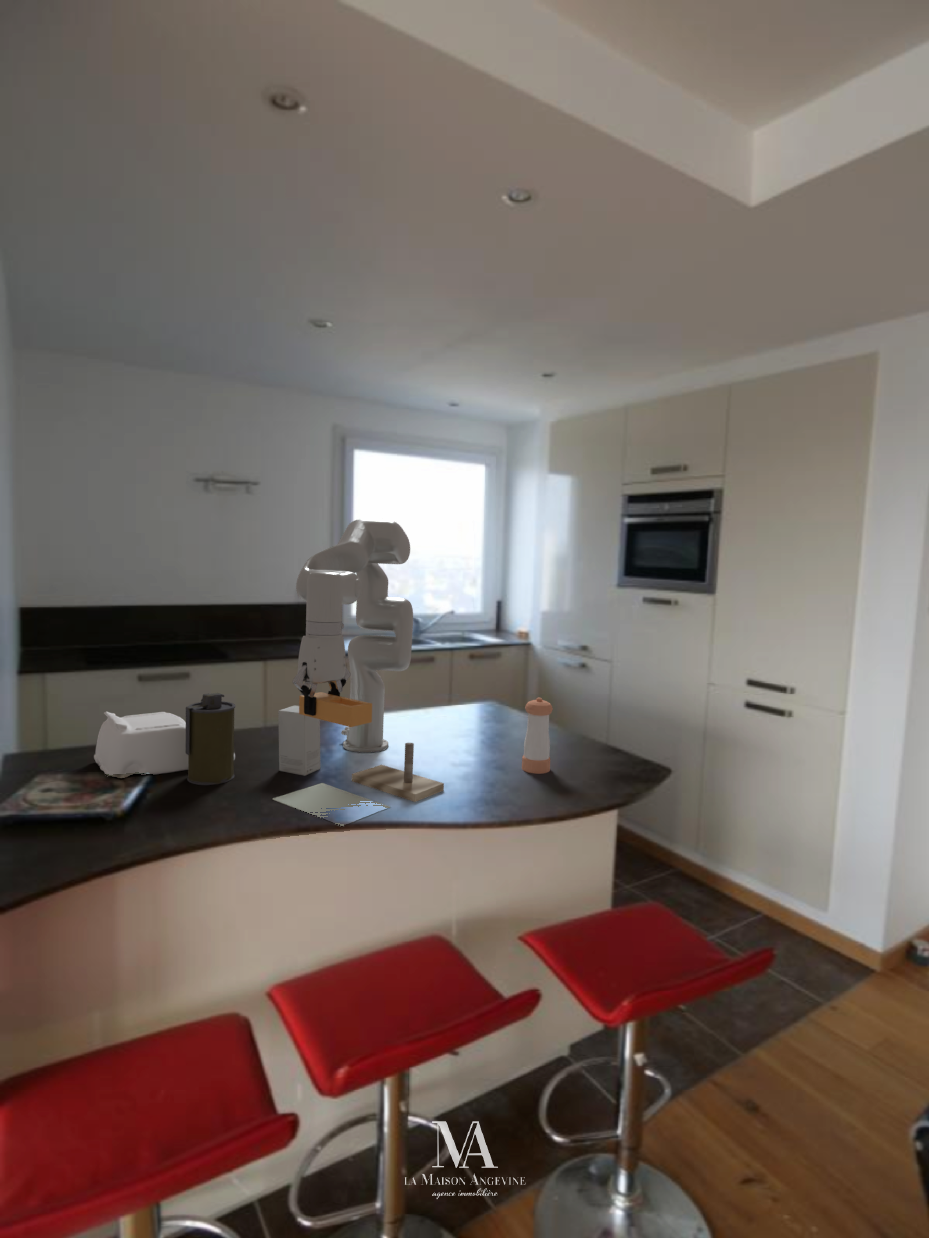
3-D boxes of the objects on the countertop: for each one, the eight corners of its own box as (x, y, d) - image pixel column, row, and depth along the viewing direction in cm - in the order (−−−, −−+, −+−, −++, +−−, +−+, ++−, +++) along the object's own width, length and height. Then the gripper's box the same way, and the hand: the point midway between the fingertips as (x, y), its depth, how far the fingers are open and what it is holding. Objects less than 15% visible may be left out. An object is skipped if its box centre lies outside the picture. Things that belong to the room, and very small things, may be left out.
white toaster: (90, 763, 165) (90, 710, 164) (213, 746, 184) (214, 698, 183) (105, 785, 150) (105, 727, 149) (238, 764, 169) (238, 712, 168)
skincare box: (320, 769, 167) (322, 708, 165) (304, 777, 161) (305, 713, 159) (294, 764, 170) (295, 704, 169) (276, 771, 164) (277, 709, 163)
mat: (272, 800, 145) (272, 798, 145) (322, 784, 156) (322, 782, 156) (342, 828, 132) (342, 826, 132) (390, 808, 143) (391, 806, 143)
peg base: (351, 782, 159) (352, 736, 158) (381, 772, 167) (382, 729, 166) (415, 803, 147) (416, 754, 146) (443, 791, 155) (445, 745, 154)
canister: (222, 768, 165) (223, 688, 163) (242, 779, 157) (243, 695, 155) (178, 777, 157) (178, 693, 155) (196, 789, 150) (197, 701, 148)
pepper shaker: (515, 769, 173) (519, 697, 171) (532, 764, 178) (536, 693, 177) (538, 776, 168) (542, 702, 167) (555, 770, 174) (559, 698, 172)
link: (371, 722, 140) (372, 703, 140) (350, 727, 135) (351, 707, 135) (320, 709, 149) (320, 692, 149) (299, 713, 145) (299, 695, 144)
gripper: (341, 625, 152) (339, 703, 154) (279, 630, 138) (278, 715, 140) (365, 628, 148) (362, 708, 149) (303, 633, 134) (301, 721, 135)
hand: (322, 711), depth 145 cm, fingers closed on link, 6 cm apart
